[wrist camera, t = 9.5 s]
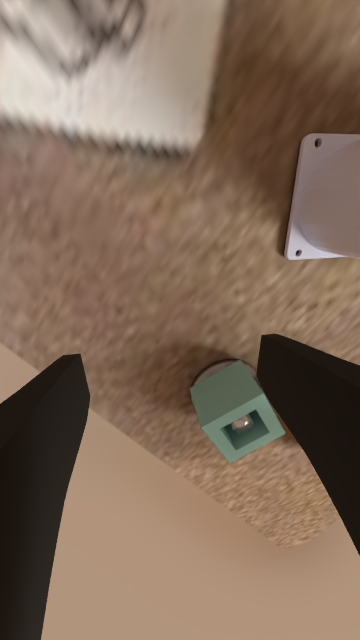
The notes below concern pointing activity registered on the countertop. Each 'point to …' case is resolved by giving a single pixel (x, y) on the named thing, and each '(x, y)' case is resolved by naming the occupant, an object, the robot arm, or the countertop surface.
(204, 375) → the post
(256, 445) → the collar
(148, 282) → the countertop surface
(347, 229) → the robot arm
